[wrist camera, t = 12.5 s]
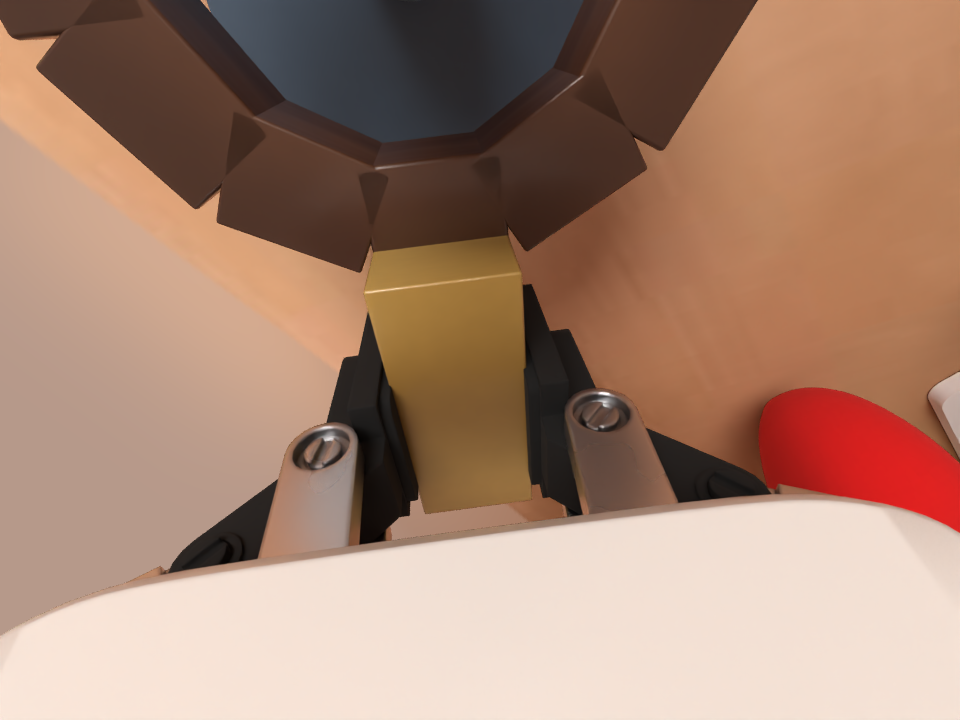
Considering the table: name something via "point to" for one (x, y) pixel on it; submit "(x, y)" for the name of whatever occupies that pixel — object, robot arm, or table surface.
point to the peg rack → (400, 57)
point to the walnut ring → (399, 187)
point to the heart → (856, 453)
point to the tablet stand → (948, 407)
